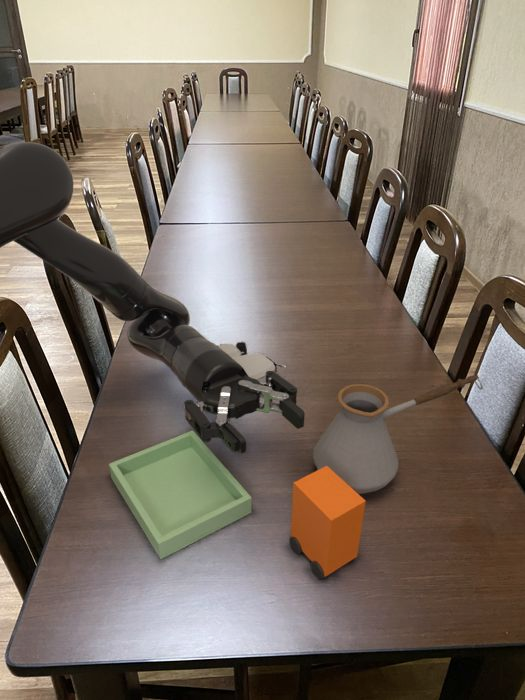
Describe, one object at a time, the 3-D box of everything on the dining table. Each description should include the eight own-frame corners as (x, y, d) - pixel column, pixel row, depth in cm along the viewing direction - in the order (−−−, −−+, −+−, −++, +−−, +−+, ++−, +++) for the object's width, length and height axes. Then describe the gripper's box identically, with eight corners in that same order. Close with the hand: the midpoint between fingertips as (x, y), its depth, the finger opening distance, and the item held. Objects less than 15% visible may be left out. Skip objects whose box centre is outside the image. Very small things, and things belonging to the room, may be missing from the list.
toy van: (358, 561, 62) (368, 499, 57) (322, 584, 59) (329, 521, 54) (321, 522, 67) (327, 462, 62) (286, 542, 64) (289, 481, 59)
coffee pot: (322, 509, 69) (331, 416, 61) (303, 449, 78) (309, 362, 71) (479, 492, 71) (506, 401, 64) (441, 436, 81) (462, 351, 73)
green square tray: (251, 512, 68) (251, 497, 67) (160, 559, 62) (158, 544, 61) (193, 444, 79) (192, 430, 78) (111, 478, 73) (108, 463, 72)
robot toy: (186, 371, 97) (224, 410, 86) (183, 349, 95) (223, 385, 84) (245, 353, 103) (288, 387, 91) (244, 332, 101) (288, 364, 89)
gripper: (159, 365, 71) (221, 431, 59) (250, 336, 77) (322, 390, 66) (164, 410, 74) (223, 481, 63) (250, 379, 81) (318, 437, 70)
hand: (273, 434), depth 64 cm, fingers open, 8 cm apart
